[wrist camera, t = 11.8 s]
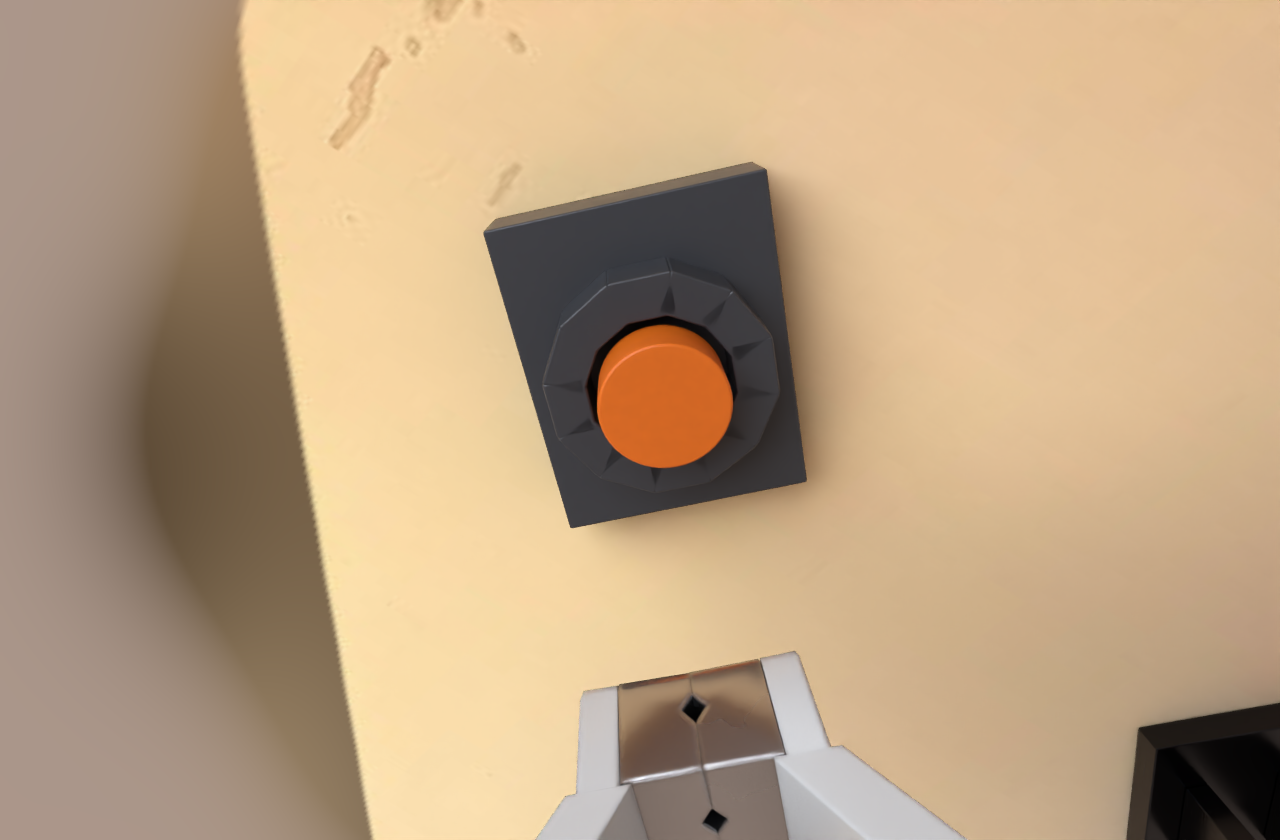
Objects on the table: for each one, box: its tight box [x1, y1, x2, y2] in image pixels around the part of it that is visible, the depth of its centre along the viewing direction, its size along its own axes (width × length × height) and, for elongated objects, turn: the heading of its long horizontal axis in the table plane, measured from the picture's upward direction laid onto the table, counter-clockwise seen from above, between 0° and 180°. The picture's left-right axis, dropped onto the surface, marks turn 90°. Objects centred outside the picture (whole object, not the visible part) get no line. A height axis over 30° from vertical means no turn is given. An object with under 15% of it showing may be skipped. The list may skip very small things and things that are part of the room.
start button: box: [597, 325, 733, 468], centre depth 20 cm, size 4×4×2 cm
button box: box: [483, 162, 807, 528], centre depth 22 cm, size 10×8×4 cm
